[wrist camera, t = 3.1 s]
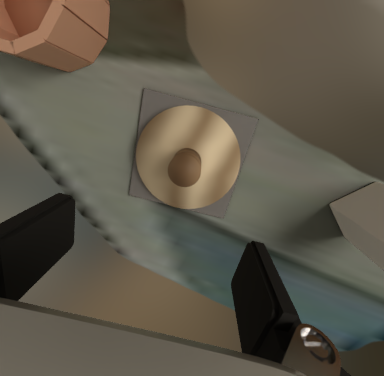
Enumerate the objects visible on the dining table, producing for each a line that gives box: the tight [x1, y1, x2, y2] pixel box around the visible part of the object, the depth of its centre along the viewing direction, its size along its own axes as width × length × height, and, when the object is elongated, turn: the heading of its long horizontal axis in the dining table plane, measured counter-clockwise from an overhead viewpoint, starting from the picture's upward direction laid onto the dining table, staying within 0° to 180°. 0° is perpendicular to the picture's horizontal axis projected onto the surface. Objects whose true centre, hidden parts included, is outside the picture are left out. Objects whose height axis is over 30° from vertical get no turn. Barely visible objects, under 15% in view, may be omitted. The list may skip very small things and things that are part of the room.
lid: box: [136, 105, 240, 209], centre depth 26 cm, size 15×15×6 cm
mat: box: [129, 88, 259, 219], centre depth 29 cm, size 16×16×1 cm
